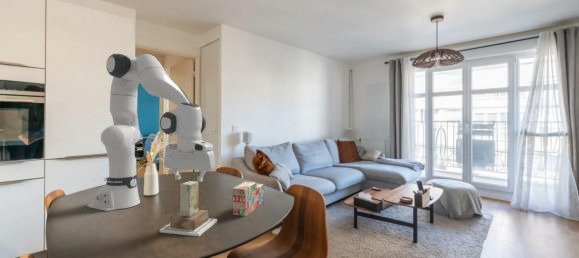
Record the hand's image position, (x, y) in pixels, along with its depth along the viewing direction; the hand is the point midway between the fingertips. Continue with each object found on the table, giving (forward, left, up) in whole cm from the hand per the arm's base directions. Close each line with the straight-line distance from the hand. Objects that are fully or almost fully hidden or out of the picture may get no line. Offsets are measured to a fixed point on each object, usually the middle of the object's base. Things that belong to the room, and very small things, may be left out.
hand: (188, 180), depth 100 cm
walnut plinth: (0, 0, -18) cm, 18 cm away
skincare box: (0, 0, -13) cm, 13 cm away
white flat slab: (0, 0, -18) cm, 18 cm away
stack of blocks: (+15, +26, -19) cm, 35 cm away
